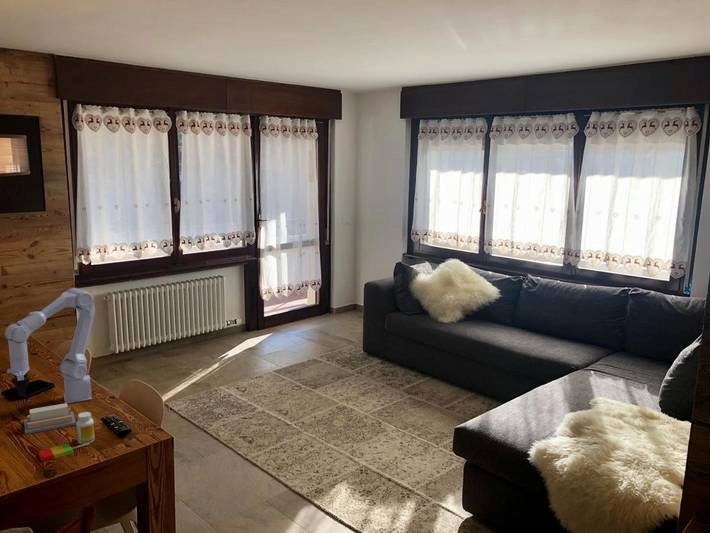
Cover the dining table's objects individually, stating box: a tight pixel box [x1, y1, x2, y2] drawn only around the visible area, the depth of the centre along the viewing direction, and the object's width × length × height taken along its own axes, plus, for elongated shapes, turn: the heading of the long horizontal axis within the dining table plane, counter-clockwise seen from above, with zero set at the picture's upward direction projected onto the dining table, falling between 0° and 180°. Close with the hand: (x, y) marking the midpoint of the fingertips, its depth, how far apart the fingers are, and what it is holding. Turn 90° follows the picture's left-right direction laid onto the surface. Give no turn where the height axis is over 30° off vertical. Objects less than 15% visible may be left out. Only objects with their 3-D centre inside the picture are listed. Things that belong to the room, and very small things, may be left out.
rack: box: [23, 407, 77, 435], centre depth 210 cm, size 16×10×3 cm, turn 120°
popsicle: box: [38, 443, 90, 462], centre depth 192 cm, size 6×15×2 cm, turn 130°
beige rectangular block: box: [29, 402, 69, 422], centre depth 210 cm, size 12×4×5 cm, turn 120°
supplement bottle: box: [75, 411, 96, 445], centre depth 199 cm, size 5×5×10 cm
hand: (22, 392), depth 214 cm, fingers open, 7 cm apart
